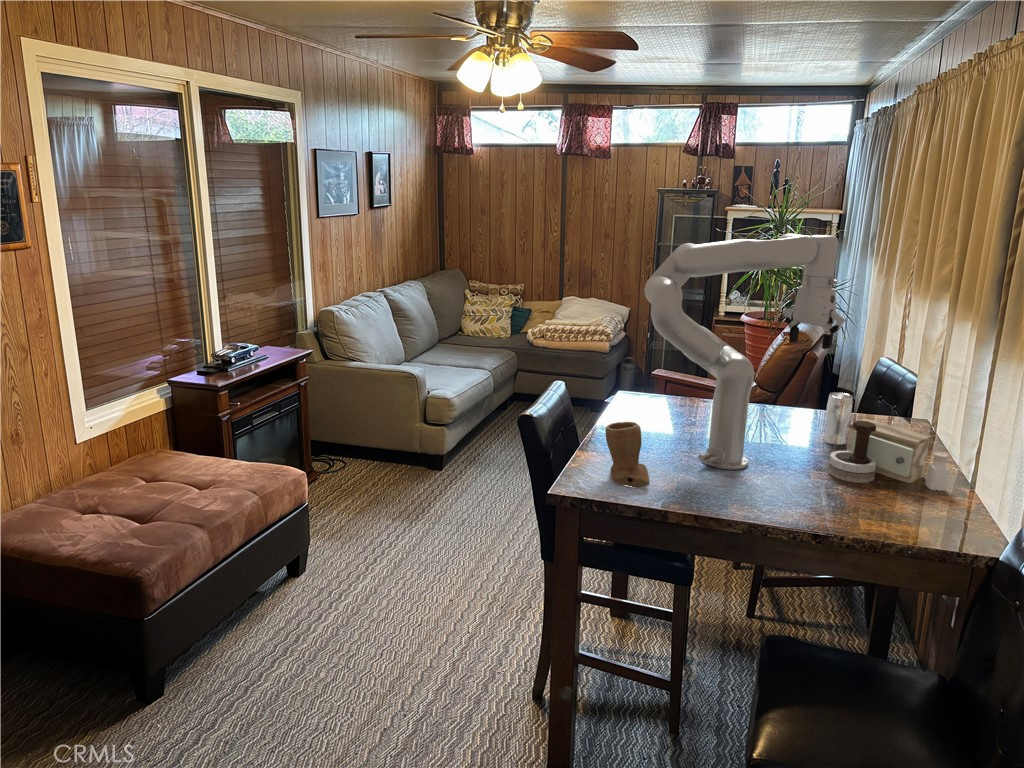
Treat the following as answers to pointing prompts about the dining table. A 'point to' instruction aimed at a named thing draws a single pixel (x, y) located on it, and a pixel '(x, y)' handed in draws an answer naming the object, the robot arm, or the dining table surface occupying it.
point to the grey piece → (876, 457)
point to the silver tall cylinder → (837, 417)
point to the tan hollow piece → (626, 454)
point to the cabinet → (896, 436)
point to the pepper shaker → (938, 473)
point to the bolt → (862, 441)
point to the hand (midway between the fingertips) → (809, 345)
